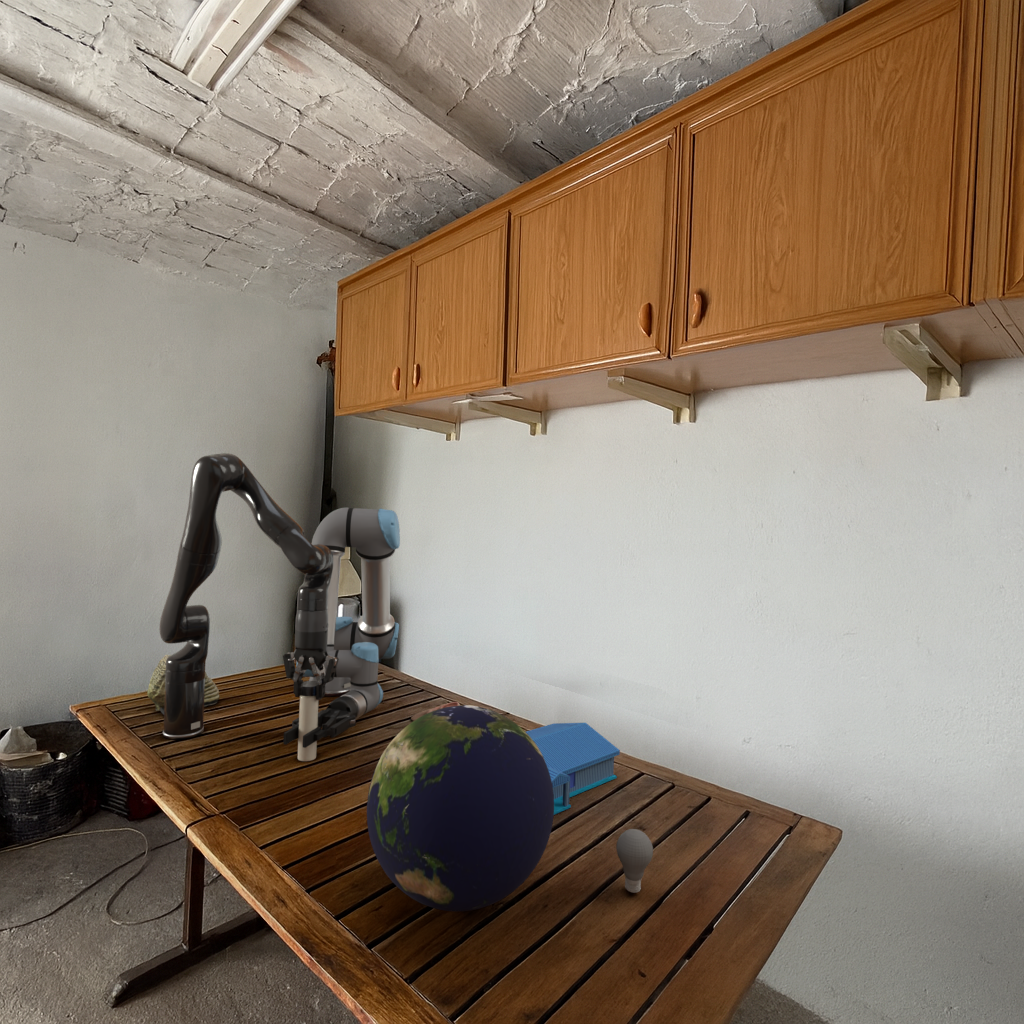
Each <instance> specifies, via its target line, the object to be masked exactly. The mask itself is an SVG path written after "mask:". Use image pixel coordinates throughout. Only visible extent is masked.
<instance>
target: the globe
mask: <svg viewBox="0 0 1024 1024" xmlns="http://www.w3.org/2000/svg"><path fill="white" fill-rule="evenodd" d="M368 788H369V789H368V794H367V801H366V822H367V832H368V836H369V840H370V844H371V847H372V851H373V853H374V855H375V857H376V859H377V861H378V864H379V865H380V867H381V869H382V870H383V872H384V873H385V875H386V876H387V877H388V878H389V880H390V881H391V883H393V884H394V885H395V886H396V887H397V888H398V890H400V891H401V892H402V893H404V894H405V895H406V896H408V897H409V898H410V899H412V900H413V901H415V902H417V903H419V904H421V905H424V906H426V907H428V908H429V907H430V908H431V909H436V910H439V911H445V912H455V913H456V912H471V911H475V910H479V909H483V908H486V907H489V906H491V905H494V904H496V903H499V902H500V901H502V900H503V899H505V898H506V897H508V896H509V895H511V894H512V893H514V892H515V891H516V890H517V889H518V888H519V887H520V886H522V885H523V884H524V882H526V880H527V879H528V878H529V877H530V875H532V873H533V871H534V870H535V869H536V867H537V866H538V864H539V863H540V860H541V859H542V857H543V855H544V853H545V850H546V848H547V846H548V843H549V841H550V837H551V833H552V827H553V823H554V816H555V815H554V794H553V786H552V782H551V777H550V774H549V770H548V767H547V765H546V763H545V760H544V757H543V755H542V753H541V752H540V750H539V748H538V747H537V745H536V744H535V742H534V741H533V740H532V739H531V737H530V736H529V735H528V734H527V733H526V731H525V730H524V729H523V728H522V727H521V726H520V725H518V723H516V722H514V721H513V720H512V719H510V718H508V717H507V716H505V715H503V714H501V713H499V712H497V711H494V710H493V709H489V708H485V707H482V706H477V705H469V704H468V705H467V704H465V705H460V706H451V707H445V708H441V709H438V710H435V711H432V712H430V713H427V714H425V715H423V716H421V717H419V718H418V719H416V720H415V721H413V720H412V721H411V722H409V724H407V725H406V726H405V727H404V728H402V729H401V731H399V733H398V734H396V736H395V737H394V738H393V739H392V740H391V741H390V742H389V743H388V745H387V747H385V749H384V751H382V754H381V755H380V758H379V760H378V762H377V763H376V766H375V769H374V771H373V774H372V777H371V780H370V783H369V787H368Z"/></svg>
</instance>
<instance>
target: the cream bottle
mask: <svg viewBox="0 0 1024 1024" xmlns="http://www.w3.org/2000/svg"><path fill="white" fill-rule="evenodd" d="M319 701H320V700H316V696H301V695H300V697H299V710H298V718H299V731H298V738H297V760H298V761H300V762H310V761H314V760H316V758H317V752H318V748H317V747H318V740H317V741H315V742H314V743H312V744H311V745H309V746H307V747H306V748H303V736H304V735H305V734H307V733H309V732H310V731H312V730H314V729H315V728H317V727H318V712H319Z"/></svg>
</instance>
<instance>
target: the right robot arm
mask: <svg viewBox="0 0 1024 1024" xmlns="http://www.w3.org/2000/svg"><path fill="white" fill-rule="evenodd" d="M400 530H401V529H400V522H399V517H398V515H397V513H396V511H395V510H392V509H383V508H359V507H340V508H338V509H334V510H333V511H331V512H330V513H328V514H327V515H325V517H324V518H323V519H322V521H320V523H319V525H318V526H317V527H316V530H315V531H314V534H313V536H312V539H311V544H312V545H316V544H322V545H325V546H327V547H328V548H329V549H330V550H331V552H332V554H333V561H334V564H333V571H332V576H331V581H330V585H329V588H328V608H327V609H328V641H327V649H326V650H327V653H328V656H331V657H338V659H339V660H338V664H337V668H336V672H335V675H334V679H333V680H332V681H330V682H328V683H326V685H325V696H324V697H337V698H335V699H333V700H332V701H330V702H329V704H328V705H327V707H326V708H325V709H322V710H320V711H318V727H317V728H315V729H314V730H312V731H310V732H309V733H307V734H305V735H304V736H303V748H306V747H307V746H309V745H311V744H312V743H314V742H315V741H317V742H318V741H320V740H321V739H323V738H324V739H325V738H327V737H329V738H330V739H334V738H336V737H337V736H339V735H340V734H342V733H344V732H345V731H347V730H348V729H350V728H354V727H356V725H357V724H356V723H357V721H356V720H357V719H359V718H361V717H363V716H364V715H366V714H367V713H369V712H371V711H373V710H374V709H375V708H377V706H379V705H380V704H381V703H382V701H383V699H384V691H383V689H382V686H381V684H379V682H378V680H379V679H378V677H379V662H380V660H384V659H385V660H386V659H392V658H394V656H395V654H396V649H397V645H398V637H399V631H400V630H399V629H400V624H399V623H398V622H396V620H395V618H394V616H393V615H392V614H391V557H392V556H393V555H394V554H395V552H396V550H397V549H399V548H400V545H401V534H400ZM346 548H355V554H356V555H357V557H359V558H360V563H361V565H360V567H361V607H362V608H361V609H362V615H361V616H360V617H359V618H358V620H357V621H354V619H353V617H352V616H337V615H338V601H339V590H340V589H339V588H340V575H341V564H342V563H341V560H342V558H343V557H344V556H345V554H346ZM295 664H296V665H295V668H296V667H297V664H298V662H297V661H296V663H295ZM324 667H325V674H326V671H327V667H328V665H327V661H325V662H324ZM318 670H319V669H318ZM305 677H306V678H309V679H308V681H317V680H316V677H315V676H314V674H313V671H311V670H308V669H307V670H306V671H305V673H304V675H303V678H305ZM338 696H339V697H338ZM298 731H299V717H296V718H295V719H294V720H292V722H291V728H289V729H288V730H286V731H285V732H283V745H285V746H286V745H288V744H290V743H291V742H294V741H295V740H298Z"/></svg>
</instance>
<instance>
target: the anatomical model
mask: <svg viewBox="0 0 1024 1024" xmlns="http://www.w3.org/2000/svg"><path fill="white" fill-rule="evenodd" d="M451 706H461V705H460V703H459V702H458V701H452V702H451V701H450V702H447V703H445V704H440V705H438V706H436V707H432V708H429V709H426V710H423V711H419V712H418V713H415V714H414V715H412V716H411V717H410V720H411V721H412V722H413V721H415V720H416V719H418V718H419V717H421V716H423V715H425V714H427V713H430V712H432V711H435V710H438V709H441V708H445V707H451Z"/></svg>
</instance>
